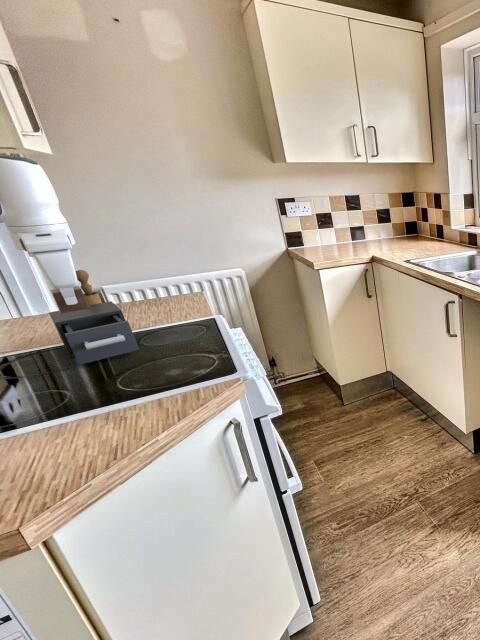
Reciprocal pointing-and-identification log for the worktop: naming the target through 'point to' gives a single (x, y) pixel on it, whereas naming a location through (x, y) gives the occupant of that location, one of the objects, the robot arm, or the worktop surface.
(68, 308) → the block
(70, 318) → the cabinet
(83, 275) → the mortar and pestle
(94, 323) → the drawer
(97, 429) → the worktop surface
